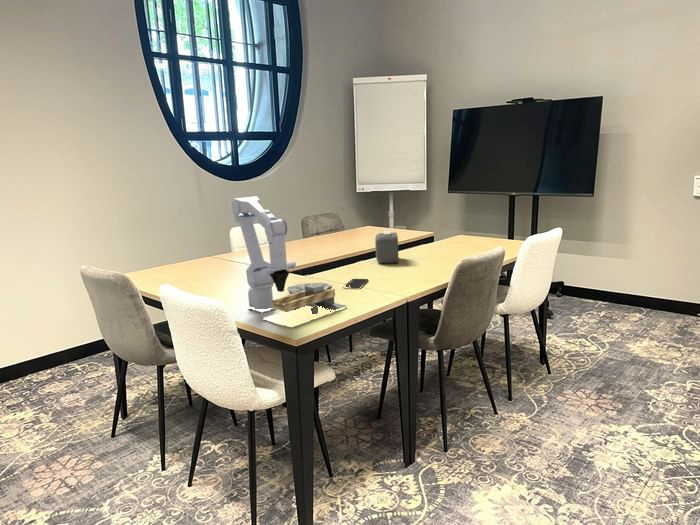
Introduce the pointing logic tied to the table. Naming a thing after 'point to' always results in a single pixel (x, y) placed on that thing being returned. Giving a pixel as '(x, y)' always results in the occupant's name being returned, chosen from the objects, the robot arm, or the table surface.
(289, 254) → the table surface
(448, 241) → the table surface
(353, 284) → the phone
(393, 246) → the alarm clock
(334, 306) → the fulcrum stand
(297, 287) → the brain slice
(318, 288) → the steel block
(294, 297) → the balance beam
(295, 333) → the table surface
